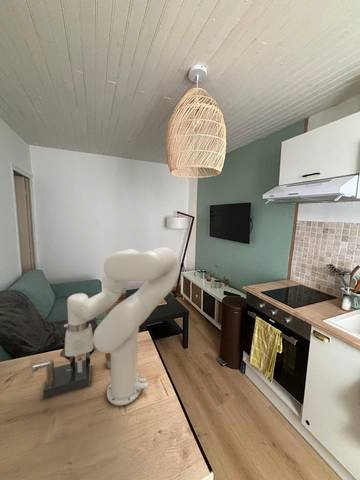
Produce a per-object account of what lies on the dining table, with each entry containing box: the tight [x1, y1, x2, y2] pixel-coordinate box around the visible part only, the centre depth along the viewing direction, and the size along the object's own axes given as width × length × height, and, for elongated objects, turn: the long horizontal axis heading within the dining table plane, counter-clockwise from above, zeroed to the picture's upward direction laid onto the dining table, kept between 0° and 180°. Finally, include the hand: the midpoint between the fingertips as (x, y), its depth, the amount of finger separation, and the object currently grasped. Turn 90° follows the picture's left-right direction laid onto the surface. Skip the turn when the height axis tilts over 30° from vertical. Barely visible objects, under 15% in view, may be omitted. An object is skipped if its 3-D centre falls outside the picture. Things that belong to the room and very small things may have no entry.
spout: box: [31, 359, 55, 387], centre depth 71 cm, size 7×2×9 cm, turn 113°
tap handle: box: [76, 354, 84, 373], centre depth 80 cm, size 6×2×5 cm, turn 23°
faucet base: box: [42, 359, 94, 400], centre depth 78 cm, size 17×11×4 cm, turn 113°
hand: (80, 365), depth 80 cm, fingers open, 4 cm apart
